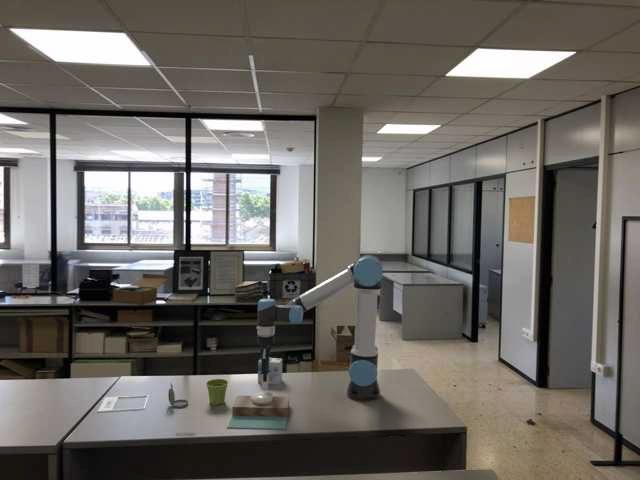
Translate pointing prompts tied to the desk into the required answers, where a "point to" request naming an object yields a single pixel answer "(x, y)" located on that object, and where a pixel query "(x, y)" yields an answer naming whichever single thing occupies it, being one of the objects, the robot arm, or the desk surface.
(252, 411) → the board
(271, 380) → the light bulb box
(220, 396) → the plant pot
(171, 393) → the pocket watch
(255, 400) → the white domed disc
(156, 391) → the desk surface
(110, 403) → the photo frame
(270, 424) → the mat
